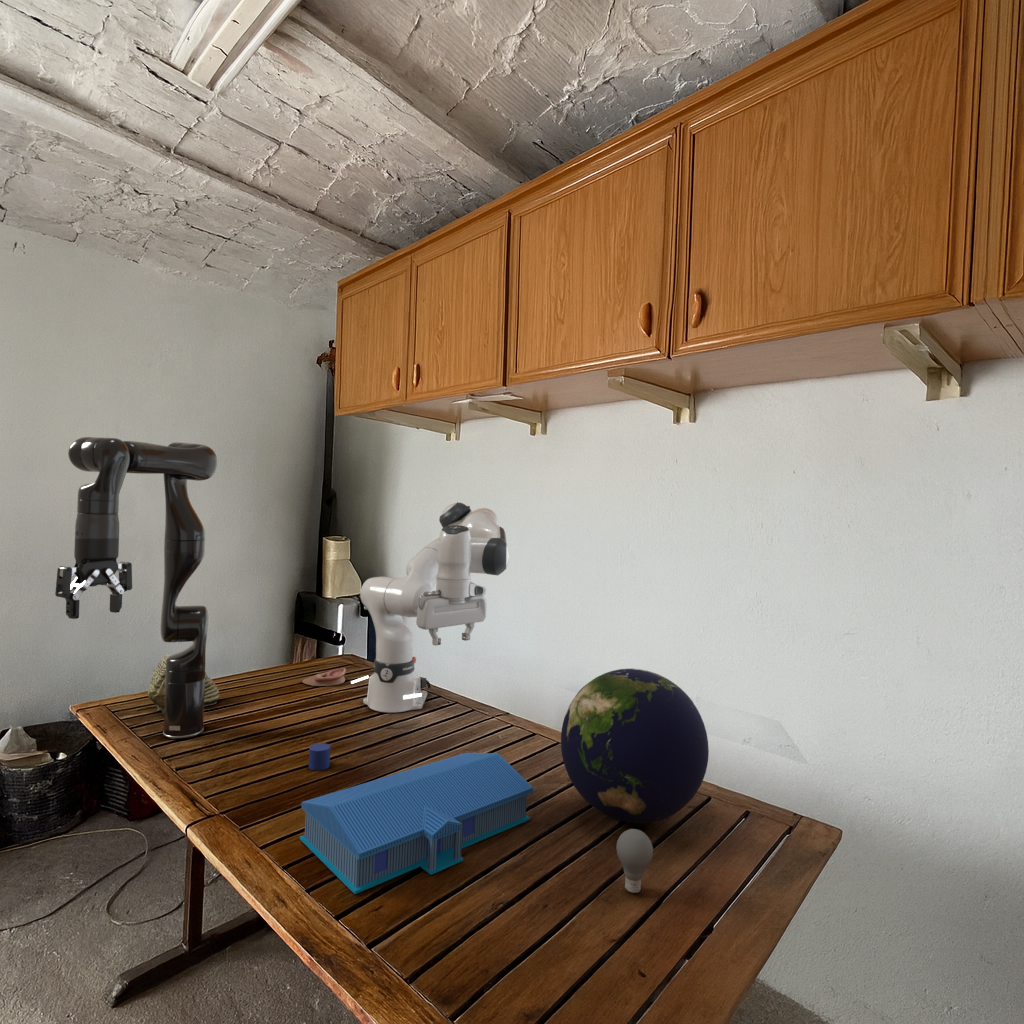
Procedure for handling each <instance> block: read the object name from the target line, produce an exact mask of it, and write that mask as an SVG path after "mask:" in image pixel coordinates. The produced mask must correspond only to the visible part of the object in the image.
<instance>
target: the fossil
mask: <svg viewBox="0 0 1024 1024" xmlns="http://www.w3.org/2000/svg"><path fill="white" fill-rule="evenodd" d="M171 655H172V654H165V655H164V656H163V657H162V658H161V659H160V660H159V662H158V663H157V666H156V667H155V669H154V670H153V672H152V675H151V677H150V680H149V684H148V688H147V697H148V699H149V700H150V701H152V703H153V704H154V706H155V711H158V712H159V711H161V712H162V709H163V708H164V705H165V674H166V660H167V658H168V657H169V656H171ZM220 698H221V696H220V690H219V688H218V686H217V685H216V683H215V682H214V681H213V679H212V678H211V677H209V675H208V674H207V672H206V671H205V693H204V707H207V706H213V705H215V704H217V703H218V701H219V699H220Z"/></svg>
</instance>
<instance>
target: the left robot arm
mask: <svg viewBox="0 0 1024 1024" xmlns="http://www.w3.org/2000/svg"><path fill="white" fill-rule="evenodd" d="M215 452H216V451H214V450H213V449H212V448H211V447H210V446H208V445H206V444H200V443H191V442H179V441H178V442H177V441H176V442H171V443H169V444H168V445H162V444H156V443H150V442H144V441H143V442H142V441H135V440H122V439H119V438H118V437H117V438H116V437H99V436H98V437H96V436H94V437H93V436H84V437H80V438H77V439H76V440H74V441H73V442H72V443H71V444H70V446H69V448H68V451H67V455H68V459H69V461H70V463H71V464H72V465H73V466H74V467H75V468H76V469H78V470H80V471H82V472H89V473H90V472H91V473H98V475H97V477H96V480H95V481H94V482H91V483H86V484H82V485H81V486H80V487H78V490H77V501H76V502H77V505H76V506H77V507H76V518H75V523H74V524H75V525H74V549H73V551H74V553H73V555H74V556H73V557H74V560H75V564H74V566H64V565H60V566H58V567H57V569H56V570H57V572H56V582H55V593H54V595H55V596H56V597H57V598H62V599H65V615H66V616H67V617H68V619H72V620H77V619H79V618H80V599H79V598H80V597H81V595H82V594H83V593H84V592H85V591H87V590H88V589H89V587H97V586H105V587H107V589H108V590H109V591H110V594H109V612H110V613H114V614H115V613H120V611H121V610H122V607H123V594H124V593H125V592H127V591H131V590H132V589H133V564H132V563H131V562H130V561H129V562H128V561H119V562H117V559H118V558H119V553H120V552H119V551H120V550H119V549H120V520H119V519H120V518H119V507H120V506H119V505H120V502H119V500H120V493H121V489H122V488H123V487H122V486H123V485H124V481H125V478H126V475H127V474H137V475H148V474H149V475H154V474H155V475H158V474H159V475H161V474H163V485H164V486H163V487H164V498H165V500H164V501H165V503H164V504H165V517H164V518H165V520H164V521H165V524H164V538H163V564H164V565H163V574H164V575H163V576H164V577H163V591H162V602H161V603H162V604H161V615H160V637H161V640H162V641H163V642H164V643H189V642H190V643H191V642H192V644H190V646H188V647H187V648H186V649H185V648H184V649H183V650H181V651H179V652H176V653H174V654H170V655H171V656H169V657H168V658H167V660H166V674H165V705H164V708H163V709H162V711H161V714H162V716H163V731H162V737H164V738H166V739H169V740H185V739H190V738H191V739H192V738H194V737H197V736H199V735H202V734H203V732H204V730H205V729H204V722H205V721H204V718H205V706H204V693H205V672H206V664H207V663H206V656H207V655H206V654H207V653H206V652H207V649H206V648H207V637H208V636H207V635H208V627H209V611H208V609H207V607H206V606H205V605H176V603H177V601H178V598H179V595H180V594H181V592H182V590H183V588H184V586H185V585H186V583H187V582H188V581H189V579H190V578H191V577H192V576H193V574H194V572H195V571H196V570H197V569H198V568H199V566H200V565H201V563H202V562H203V560H204V557H205V549H206V546H205V545H206V531H205V528H204V525H203V523H202V521H201V519H200V518H199V516H198V514H197V512H196V510H195V509H194V507H193V505H192V504H191V501H190V497H189V493H188V480H189V481H206V480H209V479H210V478H211V477H213V476H214V475H215V473H216V470H217V467H218V458H217V454H216V453H215ZM117 572H118V577H117V576H116V575H115V574H116V573H117ZM74 576H76V577H75V578H74V580H73V581H72V578H73V577H74Z"/></svg>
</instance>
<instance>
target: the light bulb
mask: <svg viewBox="0 0 1024 1024" xmlns="http://www.w3.org/2000/svg"><path fill="white" fill-rule="evenodd" d="M615 849H616V854H617V857H618V859H619V861H620V863H621V865H622V867H623V873H624V874H623V875H624V876H625V878H624V888H625V890H627V891H628V892H630V893H634V894H635V893H639V892H640V891H641V889H642V887H641V886H642V879H643V877H644V875H645V871H646V868H647V867H648V866H649V864H650V863H651V861H652V859H653V855H654V847H653V843H652V841H651V838H649V836H648V835H647V834H646V833H645V832H643V831H642V830H641V829H636V828H629V829H627V830H625V831H623V832H622V833H621V834H620V835H619V837H618V839H617V841H616V847H615Z"/></svg>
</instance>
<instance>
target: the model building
mask: <svg viewBox="0 0 1024 1024" xmlns="http://www.w3.org/2000/svg"><path fill="white" fill-rule="evenodd" d="M533 793H534V787H533V786H532V785H531V784H530V783H529V782H528V781H527V780H526V779H525V778H524V777H523V776H522V775H521V774H520V773H519V772H518V771H517V770H516V769H515V768H514V767H513V766H512V765H511V764H510V763H509V762H508V761H507V760H506V759H505V758H504V757H503V756H502V755H501V754H500V753H497V752H464V753H460V754H457V755H454V756H451V757H447V758H444V759H441V760H438V761H434V762H431V763H427V764H424V765H421V766H418V767H414V768H411V769H407V770H404V771H401V772H398V773H394V774H390V775H388V776H384V777H381V778H377V779H374V780H371V781H368V782H367V781H366V782H364V783H360V784H358V785H354V786H351V787H347V788H344V789H341V790H337V791H334V792H330V793H327V794H324V795H321V796H318V797H317V796H316V797H314V798H310V799H308V800H303V801H301V803H300V805H301V806H300V808H301V809H302V810H303V811H304V812H305V815H304V816H305V817H304V821H305V822H304V834H303V835H300V836H299V840H300V841H301V842H302V843H303V844H304V845H305V846H306V847H307V848H308V849H309V850H310V852H312V853H313V854H314V855H315V856H316V857H317V858H318V859H319V860H320V861H321V862H322V863H323V864H324V865H325V866H326V867H327V868H328V869H329V870H330V871H331V872H332V873H333V874H334V875H335V876H336V877H337V878H338V879H339V880H340V881H341V883H343V884H344V886H346V887H347V889H349V890H350V891H351V892H352V893H353V895H357V894H359V893H363V892H364V891H366V890H370V889H371V888H373V887H376V886H378V885H381V884H383V883H385V882H388V881H390V880H392V879H394V878H397V877H400V876H402V875H404V874H406V873H409V872H411V871H413V870H416V869H418V868H421V869H422V870H424V872H426V873H427V874H428V875H429V876H433V875H434V874H437V873H440V872H441V871H444V870H445V869H448V868H450V867H452V866H455V865H457V864H459V863H461V862H464V857H462V849H465V848H467V847H470V846H472V845H474V844H476V843H479V842H482V841H484V840H486V839H488V838H490V837H493V836H496V835H497V834H500V833H502V832H506V831H508V830H510V829H512V828H515V827H516V826H519V825H521V824H524V823H526V822H528V821H530V820H531V817H530V816H528V815H527V801H528V795H531V794H533Z"/></svg>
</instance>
